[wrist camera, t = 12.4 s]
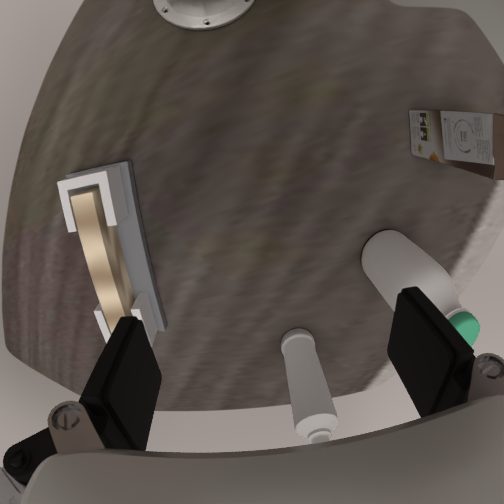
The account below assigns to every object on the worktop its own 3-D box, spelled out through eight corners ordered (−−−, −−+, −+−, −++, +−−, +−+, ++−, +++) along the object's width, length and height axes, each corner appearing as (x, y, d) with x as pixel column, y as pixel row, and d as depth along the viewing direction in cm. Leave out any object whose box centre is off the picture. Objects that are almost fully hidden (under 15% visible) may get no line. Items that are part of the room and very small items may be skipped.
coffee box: (410, 156, 36) (491, 181, 21) (408, 109, 33) (491, 111, 18) (460, 157, 36) (540, 182, 21) (458, 113, 33) (541, 123, 18)
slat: (87, 188, 34) (70, 196, 30) (107, 184, 34) (92, 192, 30) (124, 322, 42) (114, 341, 38) (142, 322, 42) (134, 341, 38)
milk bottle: (354, 277, 42) (417, 375, 24) (366, 225, 39) (451, 305, 21) (399, 280, 43) (471, 367, 24) (413, 231, 40) (503, 304, 21)
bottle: (289, 357, 47) (316, 500, 24) (273, 336, 46) (296, 489, 23) (318, 343, 47) (361, 484, 24) (304, 321, 45) (347, 472, 22)
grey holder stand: (71, 173, 35) (49, 181, 30) (131, 160, 35) (114, 166, 30) (114, 326, 44) (102, 348, 39) (167, 324, 44) (159, 348, 39)
